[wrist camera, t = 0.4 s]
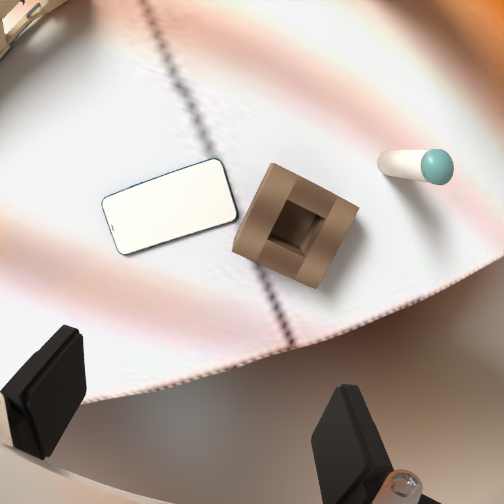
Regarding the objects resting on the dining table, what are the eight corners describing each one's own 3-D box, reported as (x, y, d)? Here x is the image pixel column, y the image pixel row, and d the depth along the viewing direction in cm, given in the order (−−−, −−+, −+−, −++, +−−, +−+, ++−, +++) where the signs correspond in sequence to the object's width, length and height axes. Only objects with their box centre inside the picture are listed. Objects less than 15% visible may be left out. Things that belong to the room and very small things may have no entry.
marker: (383, 144, 36) (433, 142, 24) (404, 158, 36) (458, 161, 25) (372, 167, 37) (420, 173, 25) (393, 180, 37) (445, 191, 25)
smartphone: (220, 155, 37) (102, 198, 38) (219, 155, 36) (99, 199, 37) (239, 219, 39) (122, 255, 40) (239, 220, 38) (120, 257, 39)
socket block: (270, 162, 36) (274, 163, 31) (344, 200, 38) (359, 207, 32) (234, 238, 39) (231, 251, 34) (307, 272, 40) (315, 289, 35)
